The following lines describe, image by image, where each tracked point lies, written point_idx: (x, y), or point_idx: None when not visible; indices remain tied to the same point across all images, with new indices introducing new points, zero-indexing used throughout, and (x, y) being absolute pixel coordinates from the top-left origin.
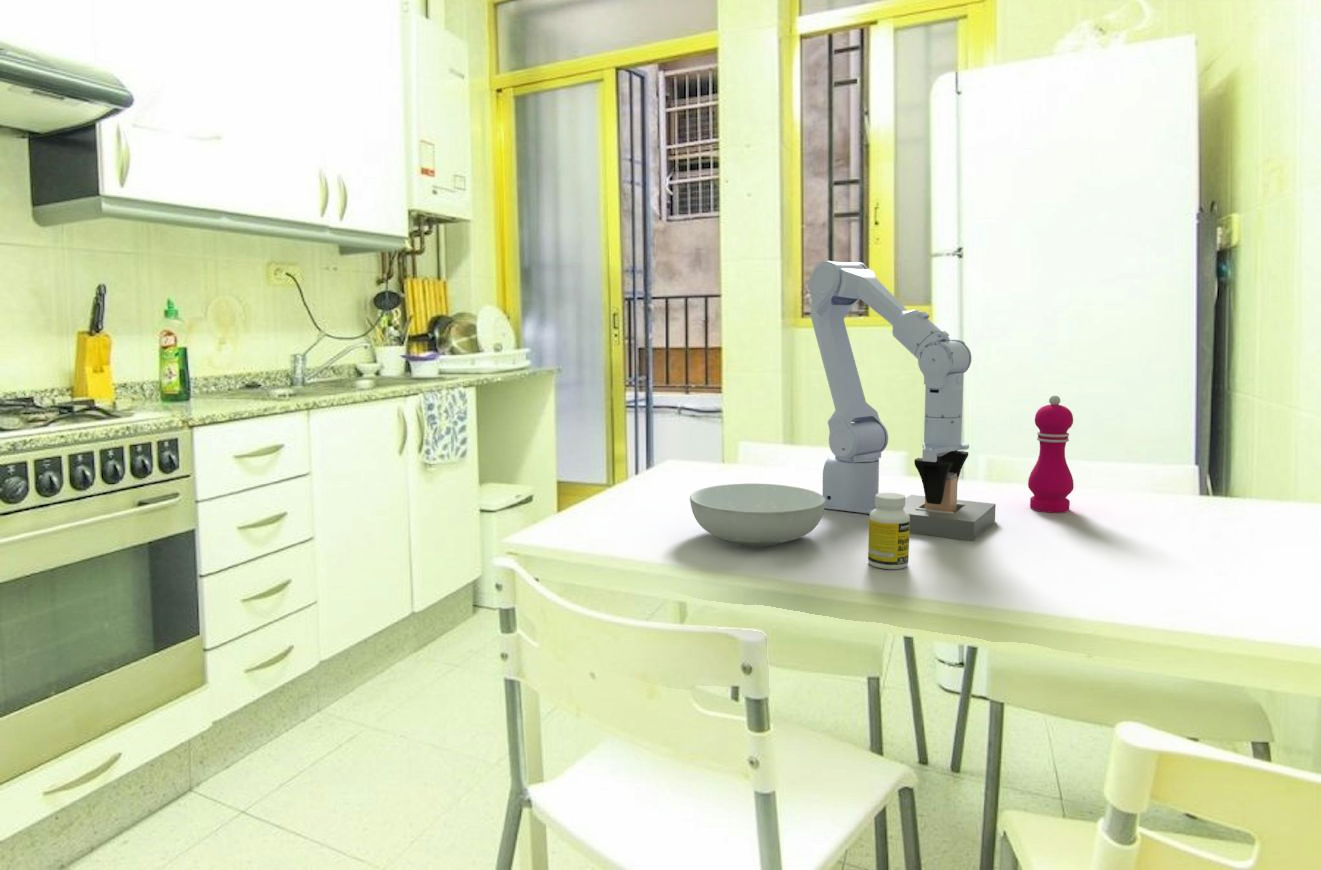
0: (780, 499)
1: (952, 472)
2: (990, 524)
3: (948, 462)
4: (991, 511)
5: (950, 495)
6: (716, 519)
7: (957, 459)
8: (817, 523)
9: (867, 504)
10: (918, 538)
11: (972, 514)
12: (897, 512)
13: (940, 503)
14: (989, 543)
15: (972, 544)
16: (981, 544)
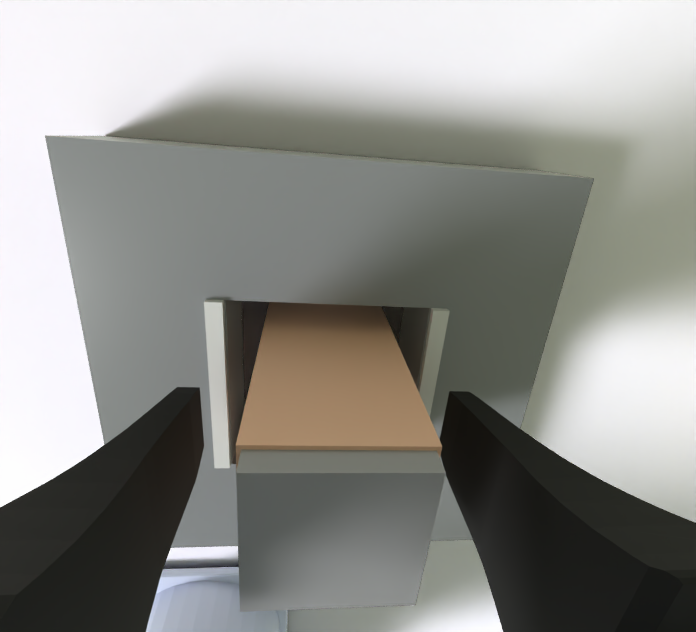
0: None
1: (140, 510)
2: (209, 144)
3: (677, 614)
4: (177, 144)
5: (408, 380)
6: None
7: (68, 610)
8: None
9: None
10: (548, 364)
11: (424, 219)
12: None
13: (462, 392)
14: (555, 94)
15: (589, 165)
16: (580, 127)
